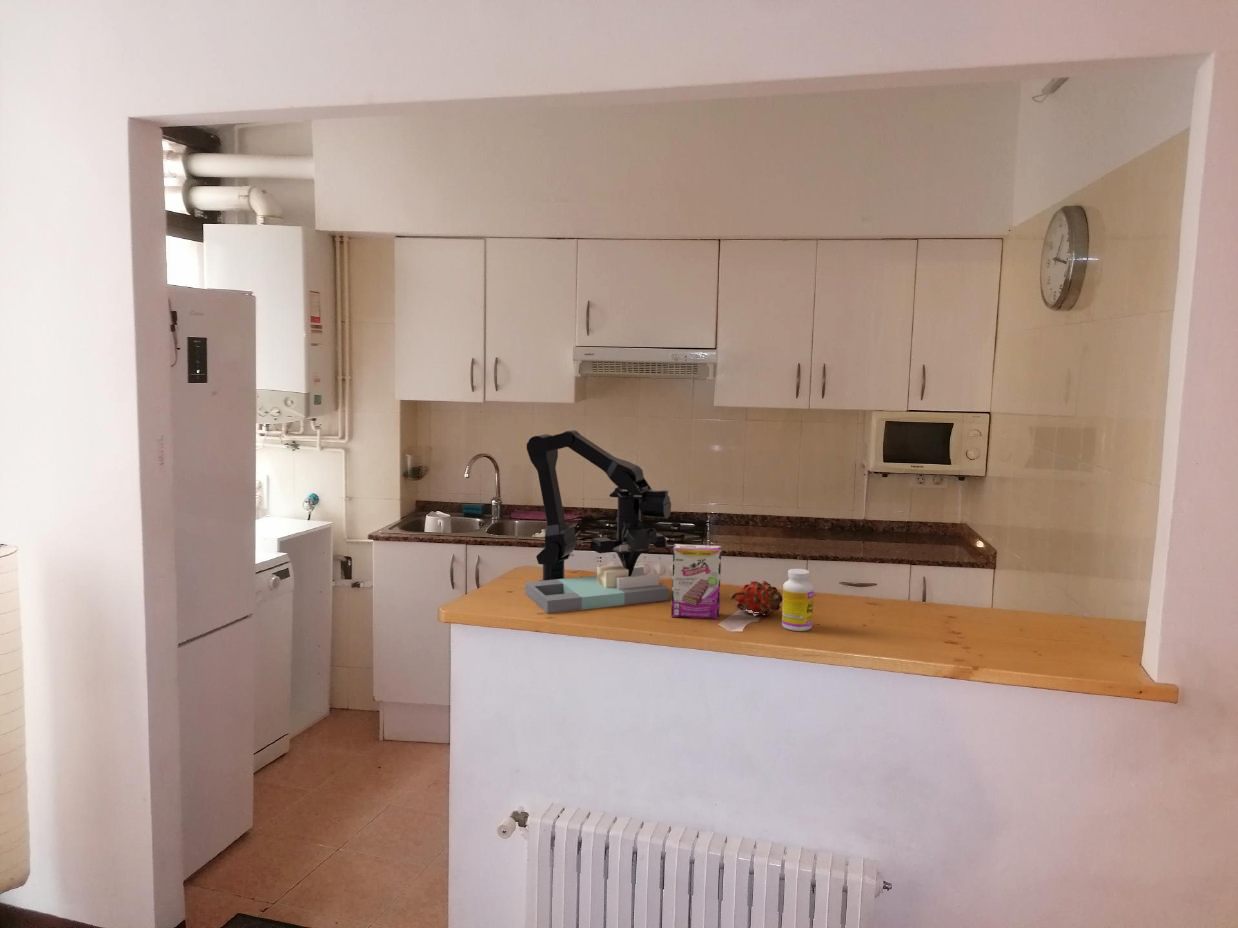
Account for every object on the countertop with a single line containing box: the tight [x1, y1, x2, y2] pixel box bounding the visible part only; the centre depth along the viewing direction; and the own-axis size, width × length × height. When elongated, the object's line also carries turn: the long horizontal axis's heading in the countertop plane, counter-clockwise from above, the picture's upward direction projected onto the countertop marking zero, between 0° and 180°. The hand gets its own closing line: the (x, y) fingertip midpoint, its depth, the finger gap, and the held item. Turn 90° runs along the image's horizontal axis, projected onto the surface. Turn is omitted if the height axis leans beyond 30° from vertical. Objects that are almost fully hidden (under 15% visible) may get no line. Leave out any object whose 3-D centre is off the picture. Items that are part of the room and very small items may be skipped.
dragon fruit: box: [730, 580, 783, 616], centre depth 203 cm, size 8×8×12 cm
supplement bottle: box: [781, 568, 814, 632], centre depth 193 cm, size 7×7×13 cm
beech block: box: [596, 564, 629, 588], centre depth 217 cm, size 6×6×4 cm
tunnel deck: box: [524, 565, 670, 614], centre depth 216 cm, size 18×32×6 cm, turn 113°
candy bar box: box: [670, 543, 722, 620], centre depth 201 cm, size 11×5×16 cm, turn 84°
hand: (628, 576), depth 219 cm, fingers closed
